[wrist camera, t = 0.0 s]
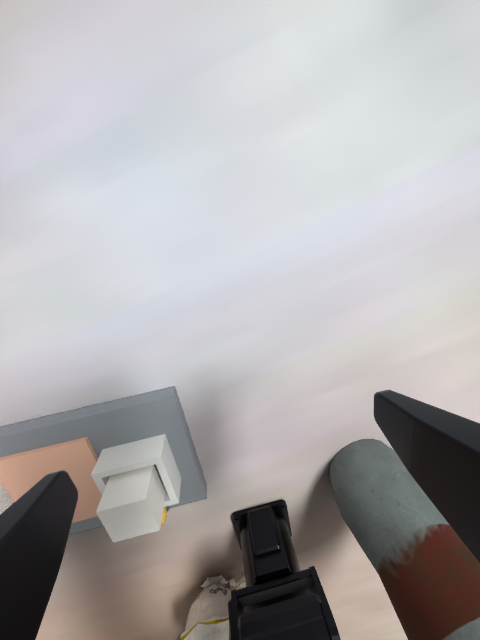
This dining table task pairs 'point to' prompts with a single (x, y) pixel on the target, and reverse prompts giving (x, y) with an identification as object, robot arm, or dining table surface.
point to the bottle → (408, 543)
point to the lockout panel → (105, 451)
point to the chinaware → (210, 611)
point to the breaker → (132, 504)
